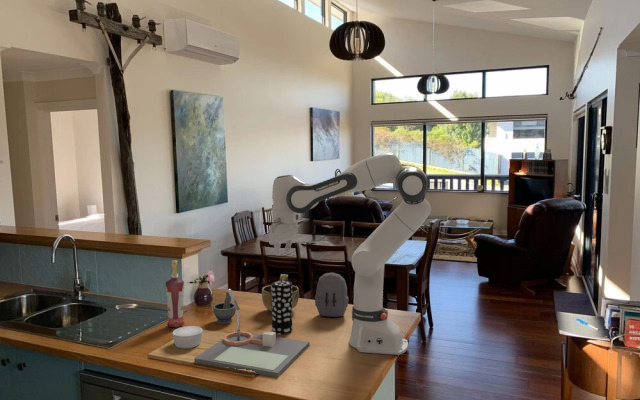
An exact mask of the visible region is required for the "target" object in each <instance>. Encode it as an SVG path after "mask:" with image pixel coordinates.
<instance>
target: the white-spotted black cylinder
mask: <svg viewBox="0 0 640 400" xmlns="http://www.w3.org/2000/svg"><path fill="white" fill-rule="evenodd" d="M271 285H272V312H271V332H276V335H279V336H283V335H285V336H286V335H290V334H291V333H293V309H292V285H293V282H292V281H289V280H288V281H280V280H277V281H276V280H275V281H273V282H271Z"/></svg>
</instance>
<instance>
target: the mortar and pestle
mask: <svg viewBox="0 0 640 400" xmlns="http://www.w3.org/2000/svg"><path fill="white" fill-rule="evenodd" d="M212 312H213V314H214V316H215V318H216V319H217V321H216V322H217V323H218V324H220V325H228V324H230V323H232V322H233V319H232V318H233V317H234V316H235V315H236V313H237V310H236V307H235V305H234V303H233V302H232V299H231V297H230V295H229V293H228V291H226V292H225V298H224V302H219V303H216V304H214V305H213V306H212Z"/></svg>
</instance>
